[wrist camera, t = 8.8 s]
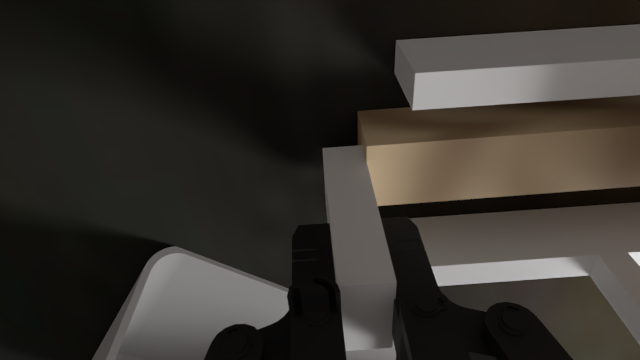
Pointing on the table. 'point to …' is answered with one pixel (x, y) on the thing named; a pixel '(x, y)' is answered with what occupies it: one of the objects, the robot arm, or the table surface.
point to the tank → (195, 309)
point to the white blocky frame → (540, 224)
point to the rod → (501, 149)
